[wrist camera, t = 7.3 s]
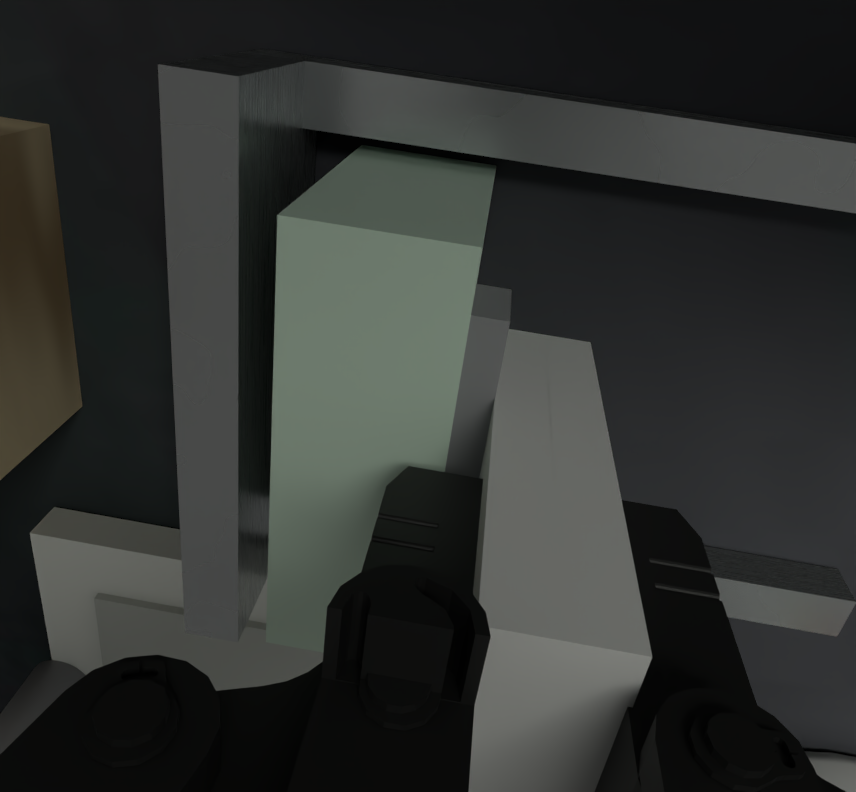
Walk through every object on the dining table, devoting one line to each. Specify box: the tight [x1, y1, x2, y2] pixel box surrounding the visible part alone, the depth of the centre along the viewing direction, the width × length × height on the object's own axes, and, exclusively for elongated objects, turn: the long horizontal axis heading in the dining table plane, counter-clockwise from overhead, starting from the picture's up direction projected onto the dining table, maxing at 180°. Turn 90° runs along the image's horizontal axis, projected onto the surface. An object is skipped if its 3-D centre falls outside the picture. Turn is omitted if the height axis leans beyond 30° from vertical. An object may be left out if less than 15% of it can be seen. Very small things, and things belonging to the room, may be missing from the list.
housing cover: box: [266, 145, 512, 653], centre depth 12 cm, size 7×3×5 cm, turn 173°
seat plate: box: [0, 507, 323, 754], centre depth 18 cm, size 10×11×4 cm
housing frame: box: [158, 49, 856, 642], centre depth 13 cm, size 10×13×4 cm
